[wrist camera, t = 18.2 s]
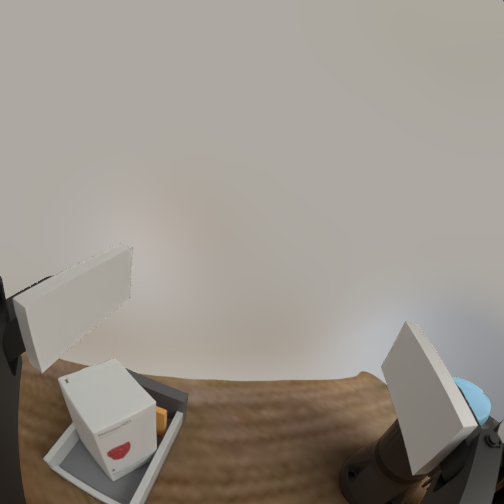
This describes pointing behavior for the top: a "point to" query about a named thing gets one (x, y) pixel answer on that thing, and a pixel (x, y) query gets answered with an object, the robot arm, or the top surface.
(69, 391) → the supplement box
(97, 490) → the tray
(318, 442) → the top surface
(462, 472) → the robot arm
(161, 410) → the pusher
